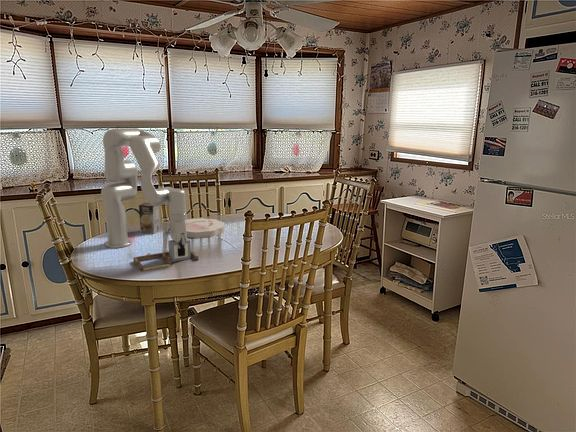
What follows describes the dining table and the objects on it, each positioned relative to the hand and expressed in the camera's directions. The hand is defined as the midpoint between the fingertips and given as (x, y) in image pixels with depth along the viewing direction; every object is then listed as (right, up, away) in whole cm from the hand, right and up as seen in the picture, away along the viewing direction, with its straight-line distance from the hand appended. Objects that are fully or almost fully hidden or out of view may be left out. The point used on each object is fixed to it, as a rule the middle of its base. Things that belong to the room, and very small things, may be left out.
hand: (179, 254), depth 189 cm
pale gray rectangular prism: (0, -2, +1) cm, 2 cm away
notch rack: (-5, -3, -3) cm, 7 cm away
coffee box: (-28, +9, +42) cm, 51 cm away
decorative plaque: (-2, +9, +47) cm, 48 cm away
